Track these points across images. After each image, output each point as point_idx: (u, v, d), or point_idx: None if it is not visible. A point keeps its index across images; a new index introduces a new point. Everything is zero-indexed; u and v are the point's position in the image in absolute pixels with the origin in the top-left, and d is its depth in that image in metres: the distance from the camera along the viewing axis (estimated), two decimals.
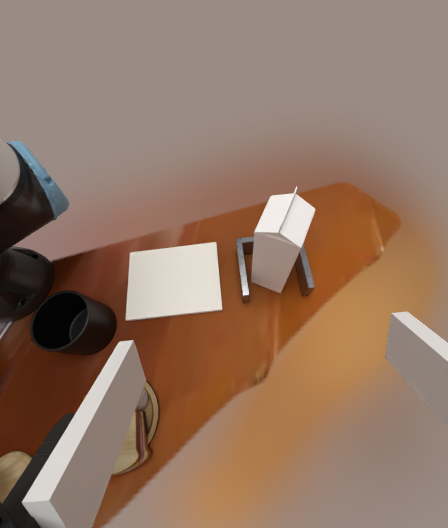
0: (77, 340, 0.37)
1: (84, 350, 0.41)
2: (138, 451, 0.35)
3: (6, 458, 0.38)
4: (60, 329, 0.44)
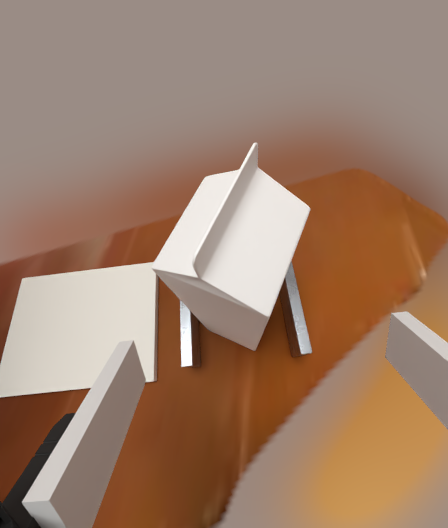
0: None
1: None
2: None
3: None
4: None
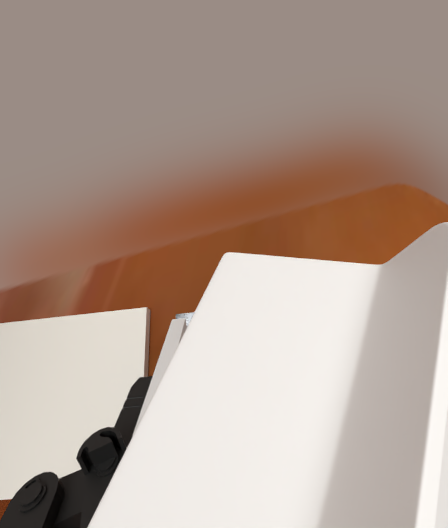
0: None
1: None
2: None
3: None
4: None
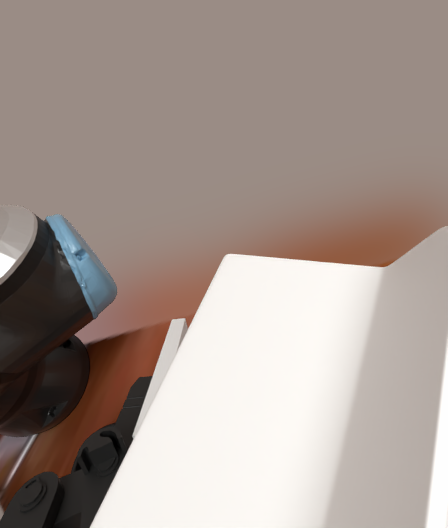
0: None
1: None
2: None
3: None
4: None
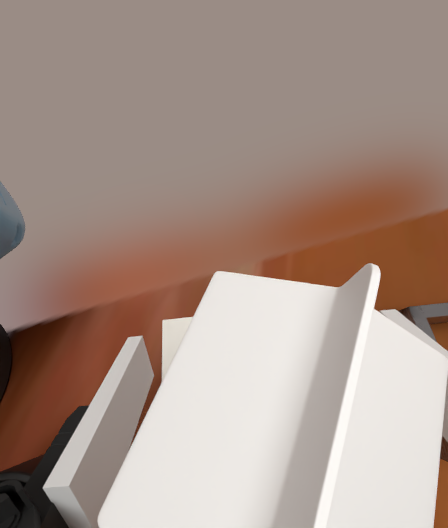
0: None
1: None
2: None
3: None
4: None
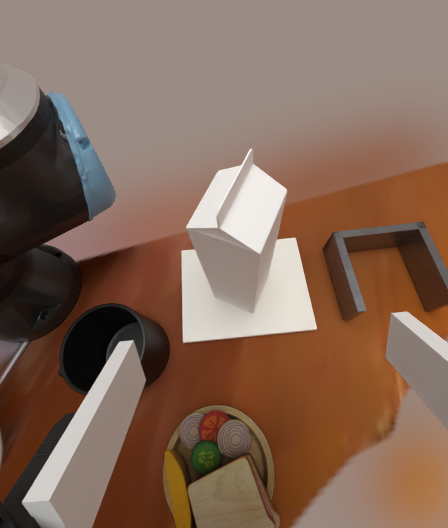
0: None
1: None
2: (271, 519, 0.23)
3: None
4: (95, 355, 0.32)
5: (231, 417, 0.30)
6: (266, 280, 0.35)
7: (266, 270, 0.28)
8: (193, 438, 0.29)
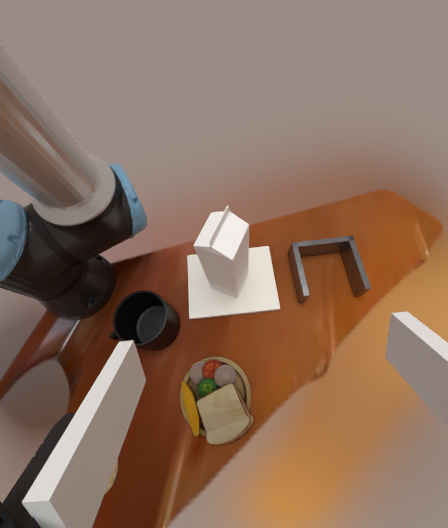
0: (158, 336, 0.40)
1: (158, 346, 0.44)
2: (247, 415, 0.39)
3: None
4: (130, 326, 0.47)
5: (223, 364, 0.45)
6: (246, 276, 0.50)
7: (243, 269, 0.43)
8: (199, 377, 0.44)
